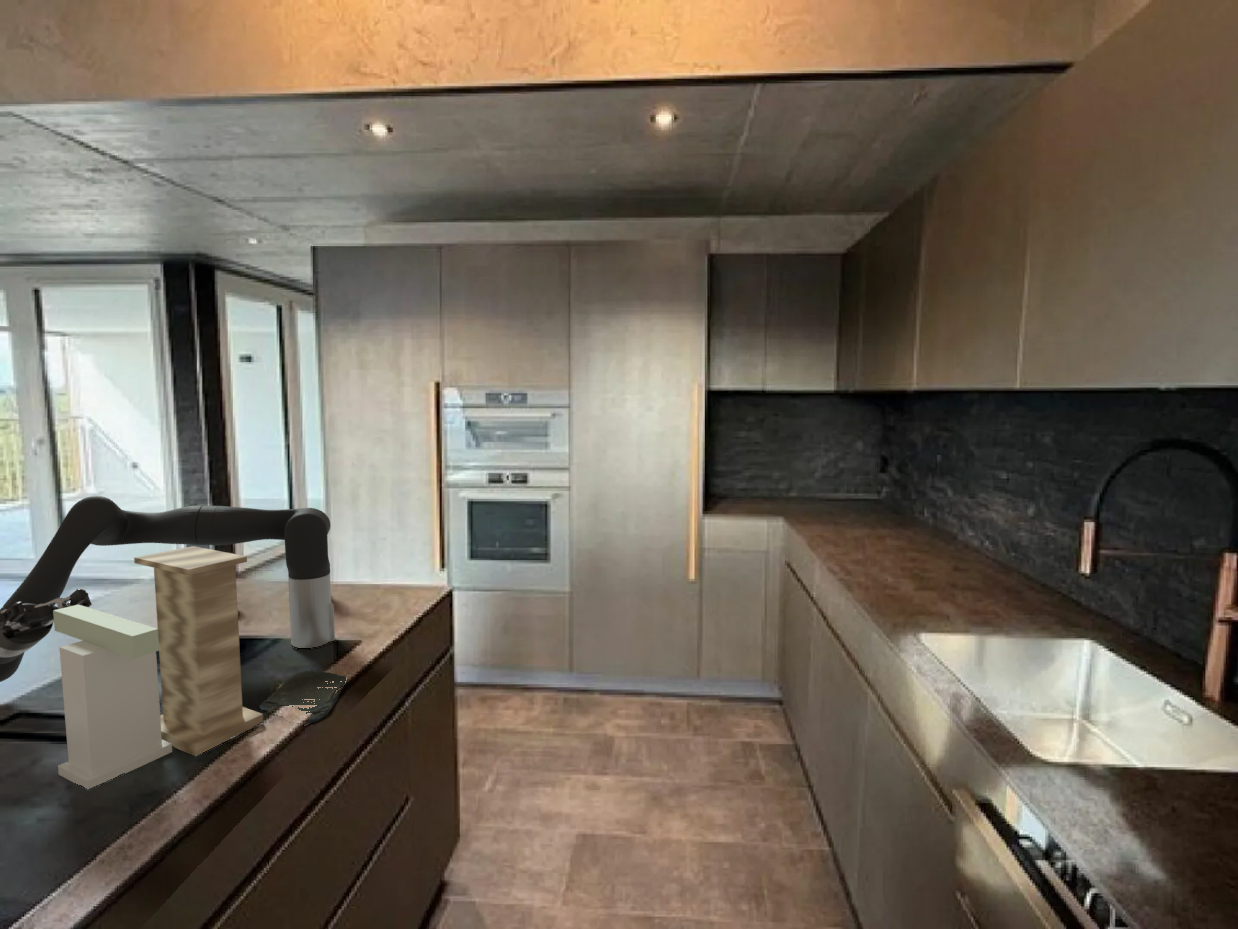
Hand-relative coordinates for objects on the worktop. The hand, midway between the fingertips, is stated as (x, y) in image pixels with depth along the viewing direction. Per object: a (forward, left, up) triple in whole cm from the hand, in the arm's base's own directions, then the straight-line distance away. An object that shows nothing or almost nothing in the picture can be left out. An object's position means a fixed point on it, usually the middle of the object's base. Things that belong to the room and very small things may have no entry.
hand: (52, 600), depth 109 cm
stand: (-19, +11, -25) cm, 33 cm away
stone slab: (-37, +10, -26) cm, 46 cm away
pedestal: (-7, +16, -25) cm, 30 cm away
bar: (-7, +15, -4) cm, 17 cm away
